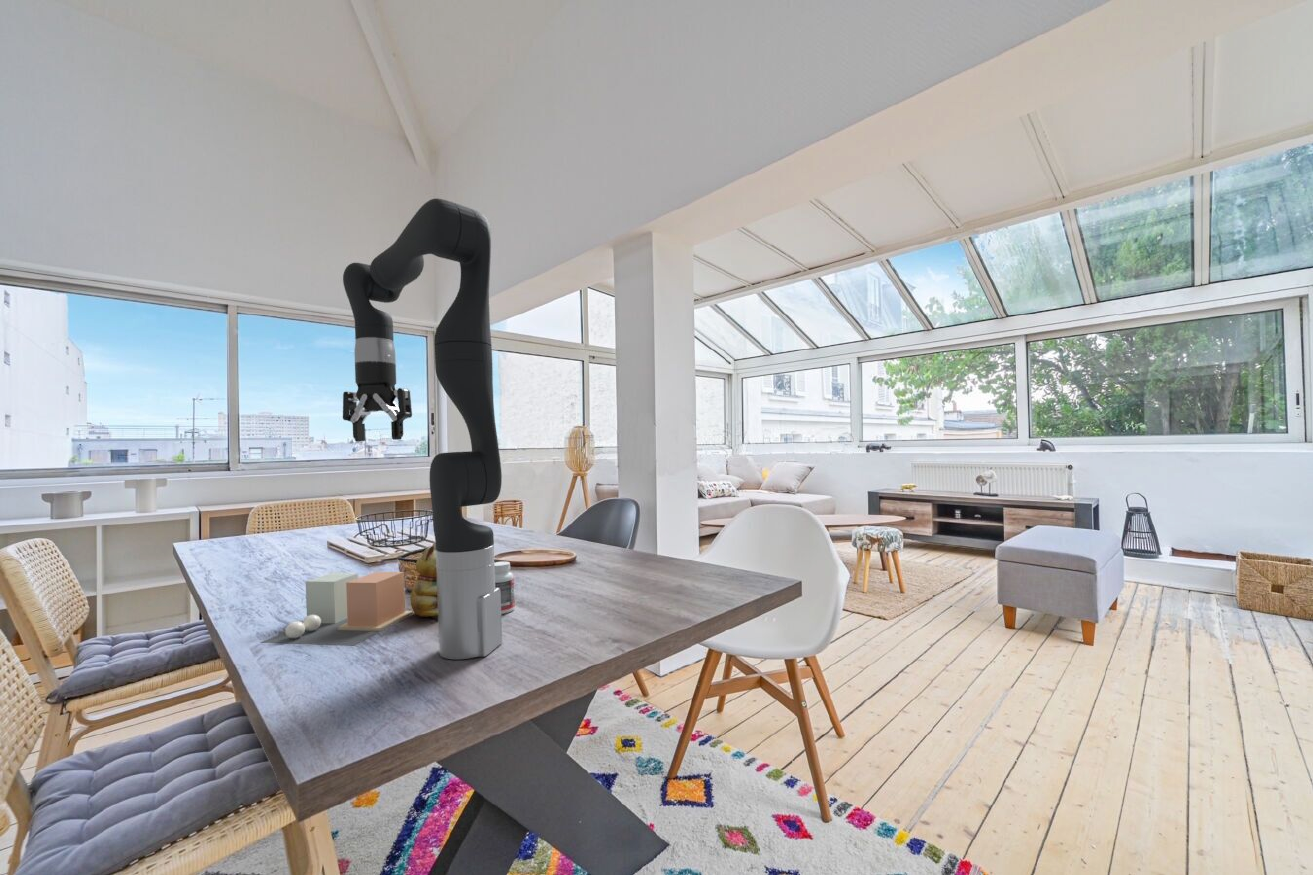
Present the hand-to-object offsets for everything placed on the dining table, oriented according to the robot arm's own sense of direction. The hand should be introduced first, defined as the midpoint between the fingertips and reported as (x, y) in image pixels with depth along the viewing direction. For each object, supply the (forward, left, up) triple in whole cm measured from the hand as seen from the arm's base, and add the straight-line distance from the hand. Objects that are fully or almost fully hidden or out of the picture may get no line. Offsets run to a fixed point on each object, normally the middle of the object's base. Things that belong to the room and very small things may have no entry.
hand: (378, 440), depth 111 cm
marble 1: (+7, +15, -36) cm, 39 cm away
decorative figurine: (-11, 0, -36) cm, 38 cm away
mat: (+2, +9, -36) cm, 37 cm away
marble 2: (+7, +11, -36) cm, 38 cm away
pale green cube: (+9, +4, -36) cm, 37 cm away
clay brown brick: (-2, +5, -35) cm, 36 cm away
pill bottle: (-24, -4, -36) cm, 44 cm away
